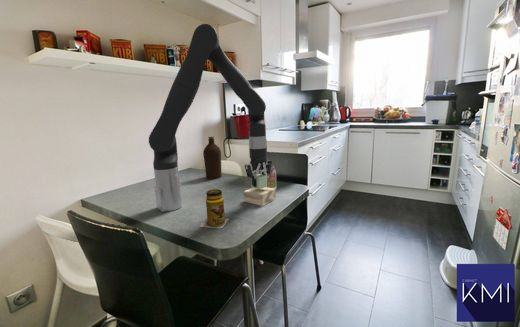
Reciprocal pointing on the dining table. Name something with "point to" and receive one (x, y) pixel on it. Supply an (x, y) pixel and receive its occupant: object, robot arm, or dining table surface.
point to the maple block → (259, 195)
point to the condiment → (214, 210)
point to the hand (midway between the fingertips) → (259, 185)
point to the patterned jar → (271, 178)
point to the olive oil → (212, 160)
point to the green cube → (260, 181)
